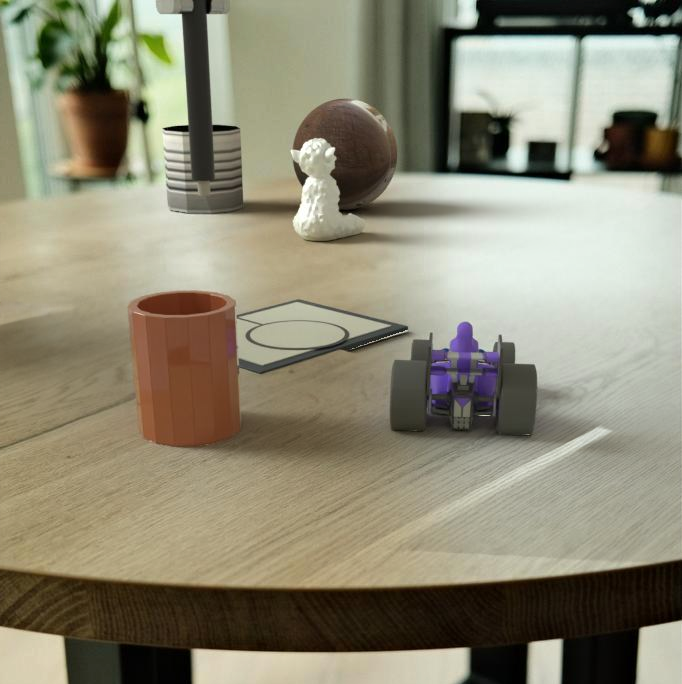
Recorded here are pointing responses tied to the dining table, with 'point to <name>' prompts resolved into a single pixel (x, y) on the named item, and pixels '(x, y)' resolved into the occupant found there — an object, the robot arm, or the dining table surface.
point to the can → (226, 163)
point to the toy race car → (463, 385)
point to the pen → (199, 96)
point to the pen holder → (185, 367)
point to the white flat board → (302, 333)
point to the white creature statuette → (321, 196)
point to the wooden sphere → (352, 149)
